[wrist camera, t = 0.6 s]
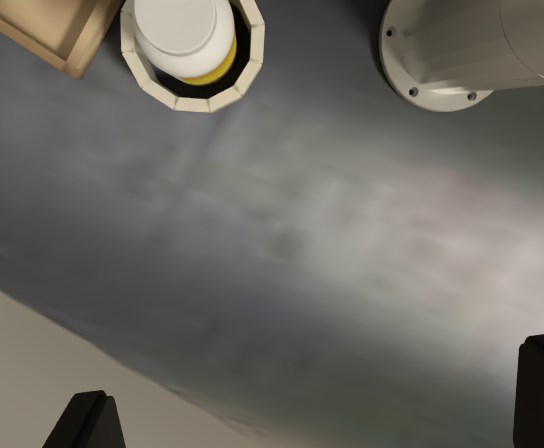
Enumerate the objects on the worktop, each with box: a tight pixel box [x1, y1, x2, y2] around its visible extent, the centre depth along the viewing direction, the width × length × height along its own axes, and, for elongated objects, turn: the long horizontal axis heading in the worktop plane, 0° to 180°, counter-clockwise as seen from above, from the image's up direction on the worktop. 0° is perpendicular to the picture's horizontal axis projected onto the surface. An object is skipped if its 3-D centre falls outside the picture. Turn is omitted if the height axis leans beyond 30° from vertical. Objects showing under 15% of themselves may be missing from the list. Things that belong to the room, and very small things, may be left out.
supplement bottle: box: [132, 0, 237, 86], centre depth 30 cm, size 7×7×13 cm
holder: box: [120, 0, 265, 113], centre depth 34 cm, size 11×11×4 cm
